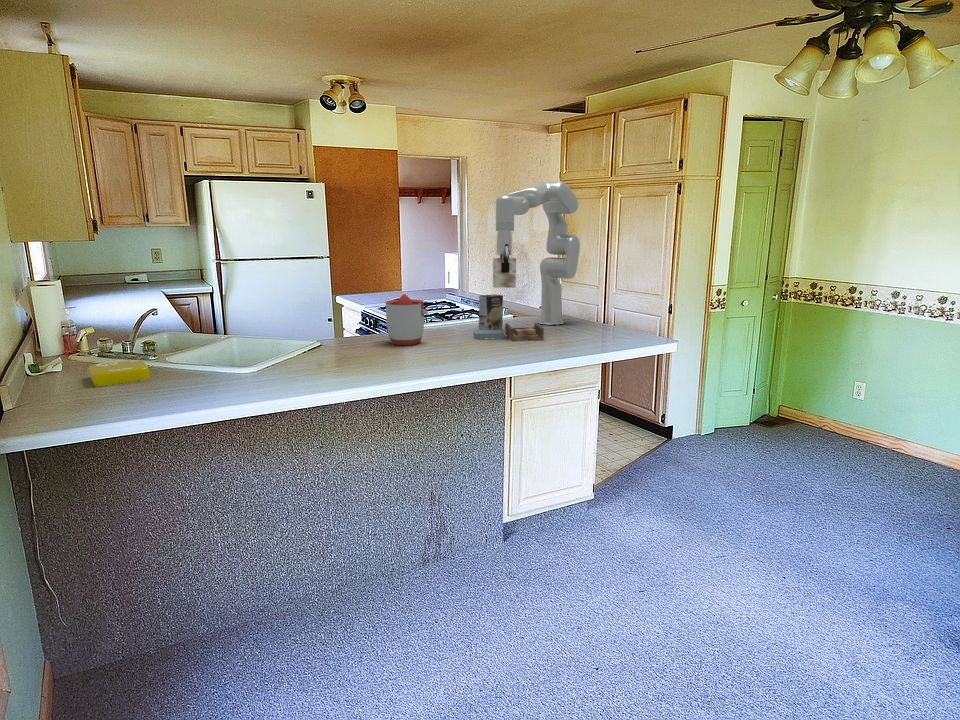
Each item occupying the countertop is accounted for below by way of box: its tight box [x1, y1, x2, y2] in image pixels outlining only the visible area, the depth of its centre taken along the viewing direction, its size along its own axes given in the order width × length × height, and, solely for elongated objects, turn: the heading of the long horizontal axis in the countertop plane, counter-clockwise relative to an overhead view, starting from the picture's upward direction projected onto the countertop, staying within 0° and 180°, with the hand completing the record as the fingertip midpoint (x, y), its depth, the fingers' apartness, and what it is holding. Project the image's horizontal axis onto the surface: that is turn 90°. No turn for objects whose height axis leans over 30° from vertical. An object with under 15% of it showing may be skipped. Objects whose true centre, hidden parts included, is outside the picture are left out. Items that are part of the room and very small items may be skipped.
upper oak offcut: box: [515, 328, 536, 336], centre depth 250 cm, size 8×4×2 cm, turn 106°
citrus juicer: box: [384, 293, 430, 346], centre depth 241 cm, size 16×17×20 cm
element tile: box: [88, 359, 151, 387], centre depth 188 cm, size 15×15×5 cm
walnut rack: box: [504, 322, 545, 341], centre depth 253 cm, size 14×14×5 cm
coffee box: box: [478, 293, 504, 331], centre depth 268 cm, size 9×6×16 cm
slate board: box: [473, 329, 505, 340], centre depth 254 cm, size 12×8×2 cm, turn 96°
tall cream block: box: [492, 257, 517, 289], centre depth 249 cm, size 9×4×12 cm, turn 97°
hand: (504, 271), depth 249 cm, fingers closed on tall cream block, 4 cm apart
